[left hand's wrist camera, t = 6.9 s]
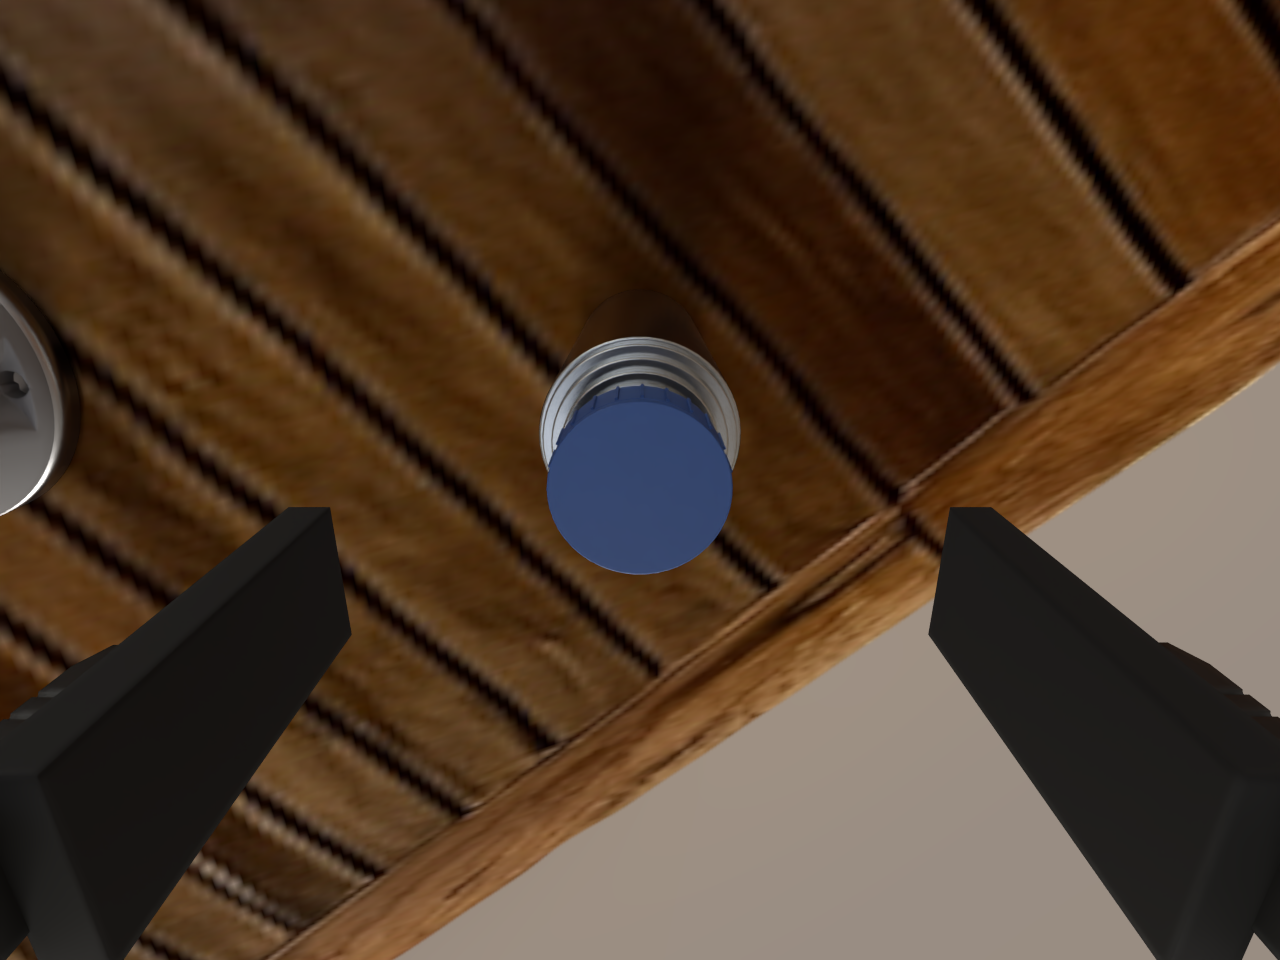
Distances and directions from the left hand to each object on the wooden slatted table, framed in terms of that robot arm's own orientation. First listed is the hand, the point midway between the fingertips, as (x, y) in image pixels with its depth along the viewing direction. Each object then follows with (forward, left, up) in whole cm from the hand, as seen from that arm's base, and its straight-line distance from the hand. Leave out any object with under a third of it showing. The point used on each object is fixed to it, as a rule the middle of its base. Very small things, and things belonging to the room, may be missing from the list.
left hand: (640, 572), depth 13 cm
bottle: (0, 0, -24) cm, 24 cm away
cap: (0, 0, -4) cm, 4 cm away
